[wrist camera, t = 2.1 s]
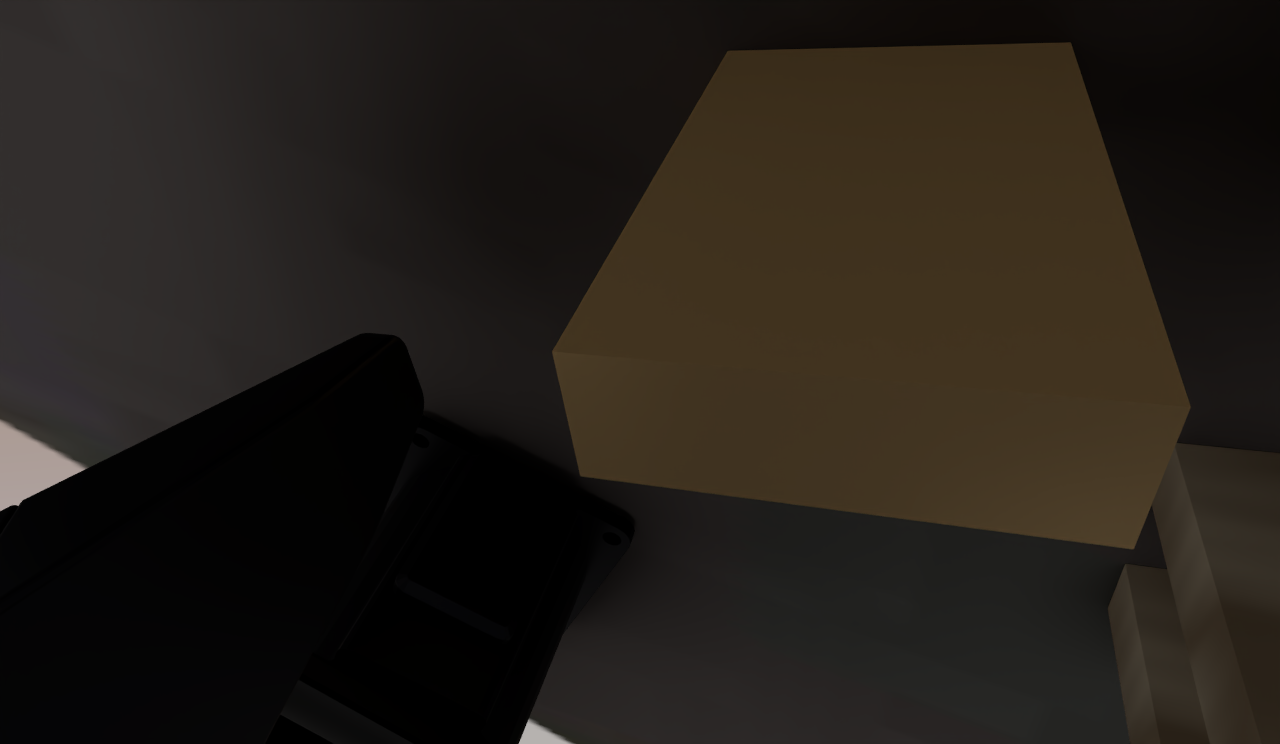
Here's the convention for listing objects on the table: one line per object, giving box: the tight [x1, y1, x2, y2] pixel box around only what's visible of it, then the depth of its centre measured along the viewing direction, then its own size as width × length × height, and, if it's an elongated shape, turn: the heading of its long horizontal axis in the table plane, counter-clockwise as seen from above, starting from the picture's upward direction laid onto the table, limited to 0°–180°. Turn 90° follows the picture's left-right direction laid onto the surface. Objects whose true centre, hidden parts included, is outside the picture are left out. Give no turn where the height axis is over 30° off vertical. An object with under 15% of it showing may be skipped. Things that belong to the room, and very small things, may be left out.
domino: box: [552, 42, 1191, 549], centre depth 10 cm, size 2×5×8 cm, turn 97°
